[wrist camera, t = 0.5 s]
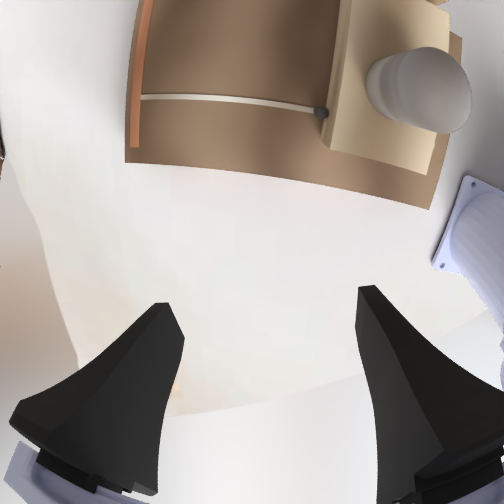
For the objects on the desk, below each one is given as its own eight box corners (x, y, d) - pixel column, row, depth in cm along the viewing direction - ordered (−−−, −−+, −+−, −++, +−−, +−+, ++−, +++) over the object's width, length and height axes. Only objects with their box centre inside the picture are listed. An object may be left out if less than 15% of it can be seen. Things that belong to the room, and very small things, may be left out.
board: (446, 41, 10) (462, 38, 9) (416, 198, 17) (429, 210, 15) (156, -10, 10) (143, -20, 9) (139, 155, 17) (124, 162, 15)
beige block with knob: (414, -3, 9) (486, -37, 2) (392, 155, 15) (467, 203, 8) (328, -31, 9) (360, -100, 2) (305, 134, 15) (332, 165, 8)
